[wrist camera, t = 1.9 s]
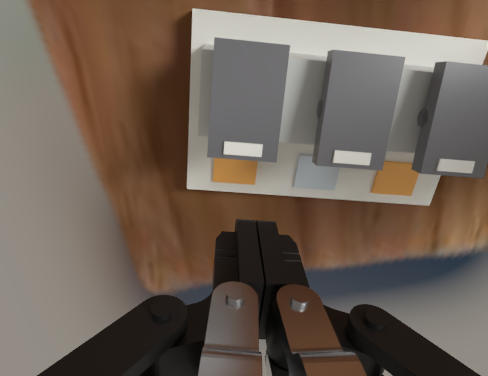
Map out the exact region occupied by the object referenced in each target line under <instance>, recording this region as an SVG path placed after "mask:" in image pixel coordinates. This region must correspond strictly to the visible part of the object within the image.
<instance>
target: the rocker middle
mask: <svg viewBox="0 0 488 376" xmlns="http://www.w3.org/2000/svg"><path fill="white" fill-rule="evenodd" d="M404 62H405V57H400V56H390V55H381V54H371V53H361V52H352V51H342V50H331V51H328V55H327V62H326V68H325V75H324V82H323V89H322V96H321V99H320V101H319V103H318V107H317V117H318V123H317V130H316V137H315V144H314V151H313V158H312V162H313V163H314V164H315V165H316V166H328V167H341V168H354V169H367V170H380V171H382V170H383V165H384V160H385V156H386V151H387V146H388V141H389V136H390V131H391V126H392V121H393V116H394V111H395V106H396V101H397V96H398V91H399V87H400V82H401V77H402V72H403V67H404Z"/></svg>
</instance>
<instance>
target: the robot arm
mask: <svg viewBox="0 0 488 376" xmlns="http://www.w3.org/2000/svg"><path fill="white" fill-rule="evenodd" d="M259 339H266V344H267V350H266V355H265V365H266V370H267V375H268V376H384V375H382V374H383V372H384V369H385V370H387V371H388V372H389V373H391V374H392V375H393V376H480V375H479V374H477V373H475V372H474V371H473V370H471V369H470V368H468V367H467V366H465V365H464V364H463V363H461V362H460V361H458V360H457V359H455V358H454V357H452V356H451V355H449V354H448V353H446V352H445V351H443V350H442V349H441V348H439V347H438V346H436V345H435V344H433V343H432V342H430V341H429V340H427V339H426V338H424V337H423V336H421V335H420V334H418V333H417V332H415V331H414V330H412V329H411V328H410V327H408V326H407V325H405V324H404V323H402V322H401V321H399V320H398V319H396V318H395V317H394V316H392V315H391V314H389V313H388V312H386V311H385V310H383V309H381V308H379V307H376V306H373V305H368V304H363V305H357V306H355V307H354V308H353V309H352V310H351V312H350V314H349V313H345V312H342V311H338V310H335V309H332V308H329V307H327V306H325V305H323V304H322V301H321V299H320V297H319V296H318V294H316V293H315V292H314V291H313V290H311V289H310V288H309V284H308V281H307V278H306V274H305V271H304V268H303V264H302V262H301V258H300V254H299V251H298V248H297V245H296V243H295V242H294V241H293V240H292V239H291V237H290V236H289V235H279V234H278V230H277V226H276V222H275V221H259V220H256V222H255V220H241V219H236V223H235V232H224V231H222V232H221V233H220V235H219V236H218V237H217V238H216V246H215V258H214V271H213V291H212V293H211V294H210V296H208V297H207V298H206V299H204V300H203V301H201V302H198V303H194V304H190V305H185V304H184V303H183V301H181V300H180V299H178V298H177V297H174V296H170V295H158V296H154V297H151V298H149V299H147V300H145V301H144V302H142V303H141V304H139V305H138V306H137V307H135V308H134V309H132V310H131V311H129V312H128V313H127V314H125V315H124V316H122V317H121V318H119V319H118V320H116V321H115V322H114V323H112V324H111V325H109V326H108V327H106V328H105V329H103V330H102V331H101V332H99V333H98V334H96V335H95V336H94V337H92V338H91V339H89V340H88V341H86V342H85V343H83V344H82V345H80V346H79V347H78V348H76V349H75V350H73V351H72V352H70V353H69V354H68V355H66V356H65V357H63V358H62V359H61V360H59V361H57V362H56V363H55V364H53V365H52V366H50V367H49V368H48V369H46V370H45V371H43V372H42V373H40V374H39V375H37V376H262V354H261V352H259Z"/></svg>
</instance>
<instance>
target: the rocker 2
mask: <svg viewBox="0 0 488 376" xmlns="http://www.w3.org/2000/svg"><path fill="white" fill-rule="evenodd" d="M418 125H419V126H420V127H421V128H420V133H419V137H418V142H417V146H416V151H415V155H414V159H413V164H412V168H411V170H414V171H416V172H418V173H420V174H432V175H445V176H458V177H471V178H484V175H485V171H486V168H487V164H488V66H487V65H477V64H468V63H458V62H448V61H445V62H435V66H434V71H433V75H432V80H431V84H430V89H429V93H428V97H427V102H426V106H425V109H423V110H421V112H420V113H419V116H418Z"/></svg>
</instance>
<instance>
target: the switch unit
mask: <svg viewBox="0 0 488 376" xmlns="http://www.w3.org/2000/svg"><path fill="white" fill-rule="evenodd" d="M215 37H217V38H226V39H236V40H246V41H255V42H265V43H274V44H284V45H290V51H289V60H288V68H287V77H286V85H285V94H284V102H283V111H282V119H281V128H280V136H279V145H278V154H277V162H276V163H275V162H262V161H249V160H236V159H223V158H210V157H207V151H208V135H209V119H210V103H211V87H212V70H213V54H214V38H215ZM331 50H342V51H352V52H361V53H371V54H381V55H390V56H400V57H405V62H404V67H403V72H402V77H401V82H400V87H399V91H398V96H397V101H396V106H395V111H394V116H393V121H392V126H391V131H390V136H389V141H388V146H387V151H386V156H385V160H384V165H383V170H382V171H380V170H367V169H354V168H341V167H328V166H316V165H315V164H314V163H313V162H312V158H313V151H314V144H315V137H316V130H317V123H318V117H317V107H318V103H319V101H320V99H321V96H322V89H323V82H324V75H325V68H326V62H327V55H328V51H331ZM487 51H488V41H486V40H478V39H469V38H459V37H450V36H441V35H432V34H423V33H414V32H405V31H395V30H386V29H377V28H368V27H359V26H350V25H341V24H332V23H322V22H313V21H304V20H295V19H286V18H277V17H268V16H259V15H249V14H240V13H231V12H222V11H213V10H204V9H195V8H192V37H191V69H190V101H189V134H188V166H187V189H195V190H209V191H224V192H238V193H253V194H267V195H281V196H296V197H310V198H325V199H339V200H354V201H368V202H382V203H397V204H411V205H426V206H430V203H431V200H432V198H433V195H434V192H435V190H436V187H437V184H438V182H439V179H440V176H441V175H432V174H420V173H418V172H416V171H414V170H411V168H412V164H413V159H414V155H415V151H416V146H417V142H418V137H419V133H420V128H421V127H420V126H419V125H418V116H419V113H420V112H421V110H423V109H425V106H426V102H427V97H428V93H429V89H430V84H431V80H432V75H433V71H434V66H435V62H445V61H448V62H458V63H468V64H477V65H482V64H483V61H484V59H485V56H486V53H487Z"/></svg>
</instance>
